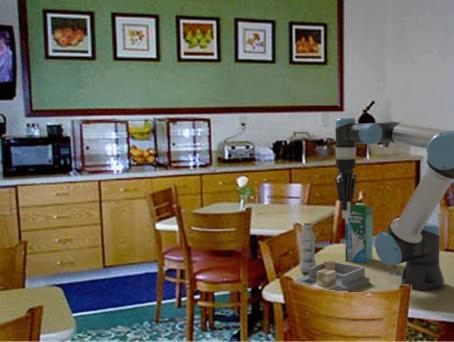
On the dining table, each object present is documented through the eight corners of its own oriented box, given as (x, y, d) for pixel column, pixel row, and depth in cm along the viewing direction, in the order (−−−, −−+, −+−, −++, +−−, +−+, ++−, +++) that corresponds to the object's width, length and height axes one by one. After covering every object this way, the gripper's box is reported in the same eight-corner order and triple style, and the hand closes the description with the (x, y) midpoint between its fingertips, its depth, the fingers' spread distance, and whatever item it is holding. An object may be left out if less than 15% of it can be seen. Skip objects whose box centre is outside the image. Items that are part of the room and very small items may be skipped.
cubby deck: (369, 282, 219) (369, 268, 219) (336, 297, 204) (335, 282, 203) (325, 273, 233) (325, 260, 233) (291, 286, 218) (290, 272, 217)
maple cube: (336, 284, 212) (335, 271, 212) (328, 287, 209) (327, 274, 208) (324, 281, 216) (324, 268, 215) (316, 285, 212) (316, 271, 212)
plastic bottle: (312, 276, 231) (311, 226, 229) (297, 273, 234) (296, 225, 232) (319, 271, 236) (318, 223, 234) (303, 269, 240) (302, 222, 238)
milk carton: (372, 258, 254) (372, 202, 252) (365, 263, 247) (365, 205, 244) (352, 256, 259) (352, 200, 256) (345, 261, 251) (344, 203, 249)
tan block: (337, 274, 225) (337, 261, 225) (331, 276, 222) (331, 263, 222) (328, 272, 228) (328, 259, 227) (322, 274, 225) (322, 262, 225)
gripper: (345, 156, 232) (346, 214, 235) (328, 159, 223) (329, 219, 225) (362, 157, 227) (363, 216, 230) (345, 159, 218) (346, 221, 220)
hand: (346, 218), depth 228 cm, fingers closed
